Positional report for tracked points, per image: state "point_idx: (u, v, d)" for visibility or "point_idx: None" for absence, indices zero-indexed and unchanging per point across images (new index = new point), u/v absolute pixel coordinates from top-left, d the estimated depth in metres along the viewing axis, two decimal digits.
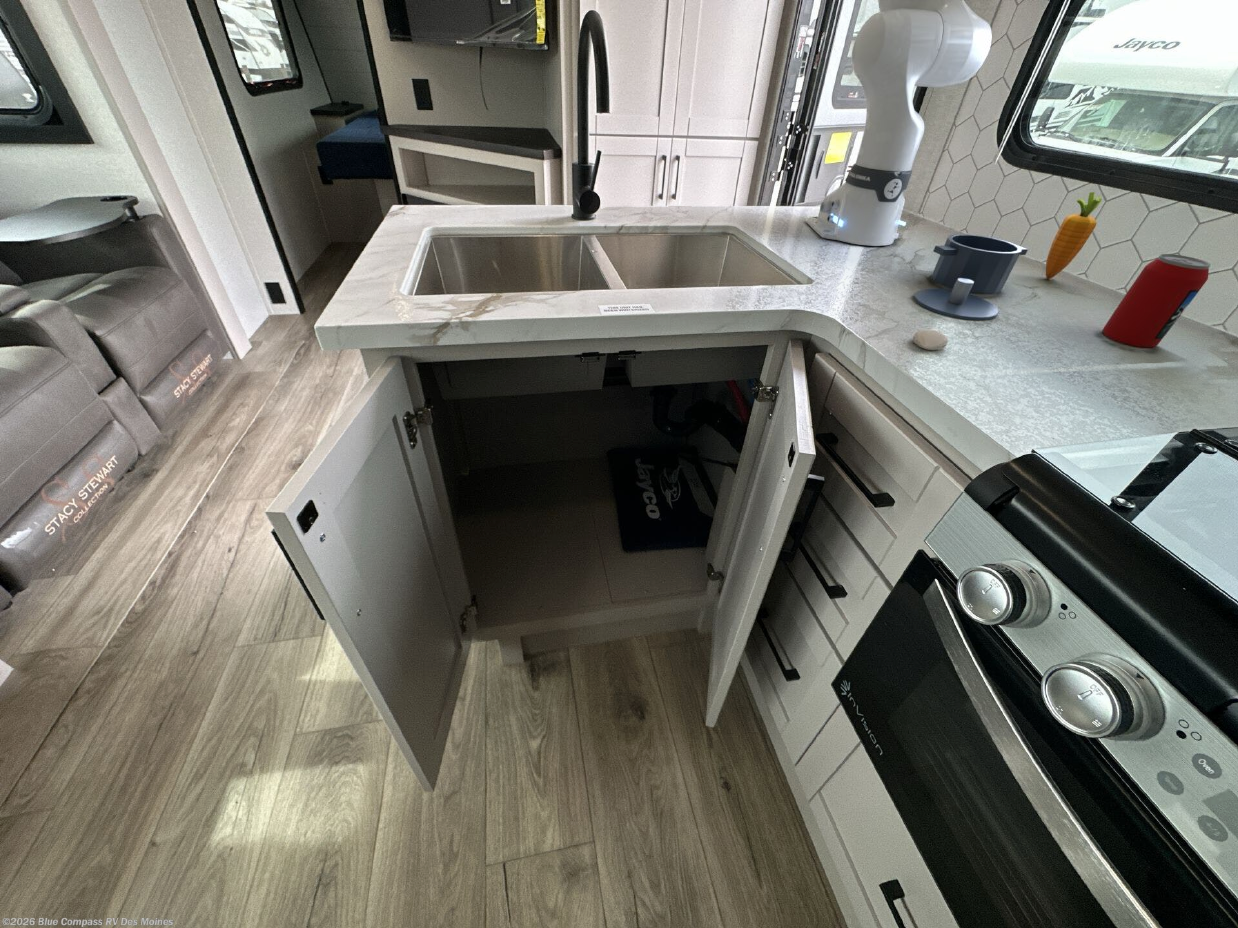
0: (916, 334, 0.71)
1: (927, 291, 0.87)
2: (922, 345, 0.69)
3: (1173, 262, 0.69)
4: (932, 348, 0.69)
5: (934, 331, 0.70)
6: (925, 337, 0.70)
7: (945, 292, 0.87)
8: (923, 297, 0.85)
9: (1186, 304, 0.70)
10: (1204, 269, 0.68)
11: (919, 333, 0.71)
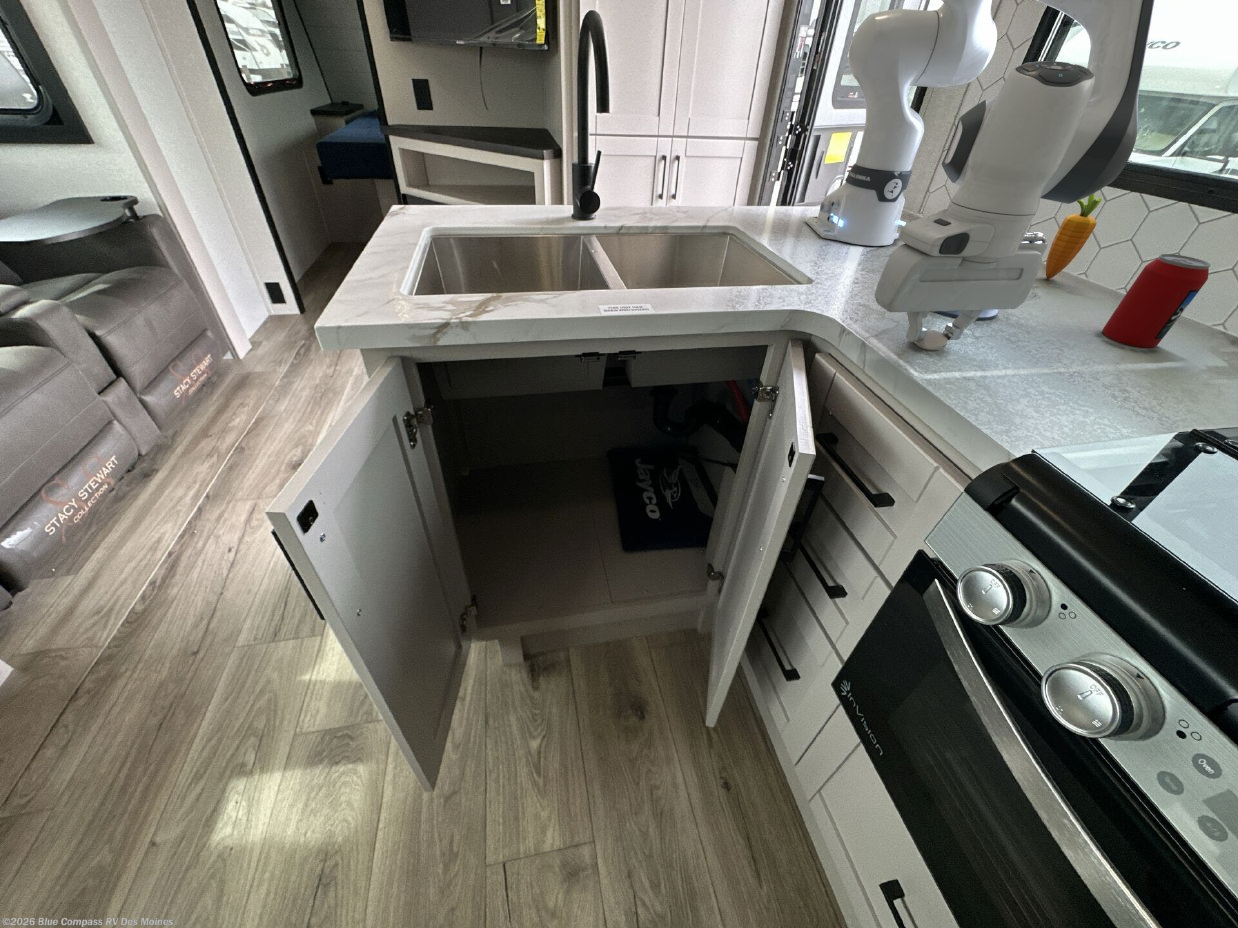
0: None
1: None
2: (922, 345, 0.69)
3: (1173, 262, 0.69)
4: (932, 348, 0.69)
5: (934, 331, 0.70)
6: (925, 337, 0.70)
7: None
8: None
9: (1186, 304, 0.70)
10: (1204, 269, 0.68)
11: None
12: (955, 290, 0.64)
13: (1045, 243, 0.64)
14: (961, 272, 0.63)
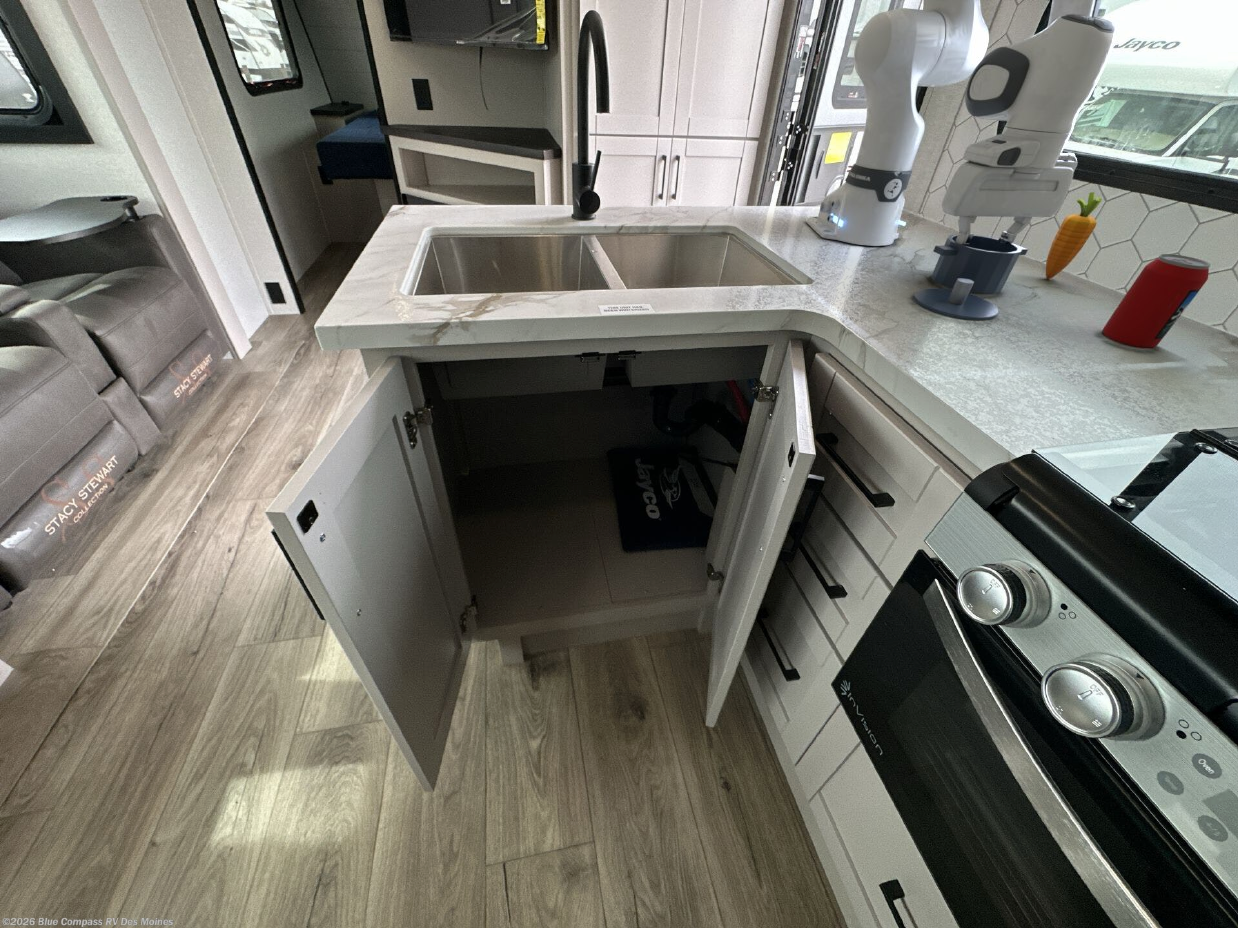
0: None
1: (927, 291, 0.87)
2: None
3: (1173, 262, 0.69)
4: None
5: None
6: None
7: (945, 292, 0.87)
8: (923, 297, 0.85)
9: (1186, 304, 0.70)
10: (1204, 269, 0.68)
11: None
12: (1005, 198, 0.83)
13: (1076, 162, 0.83)
14: (1011, 183, 0.82)
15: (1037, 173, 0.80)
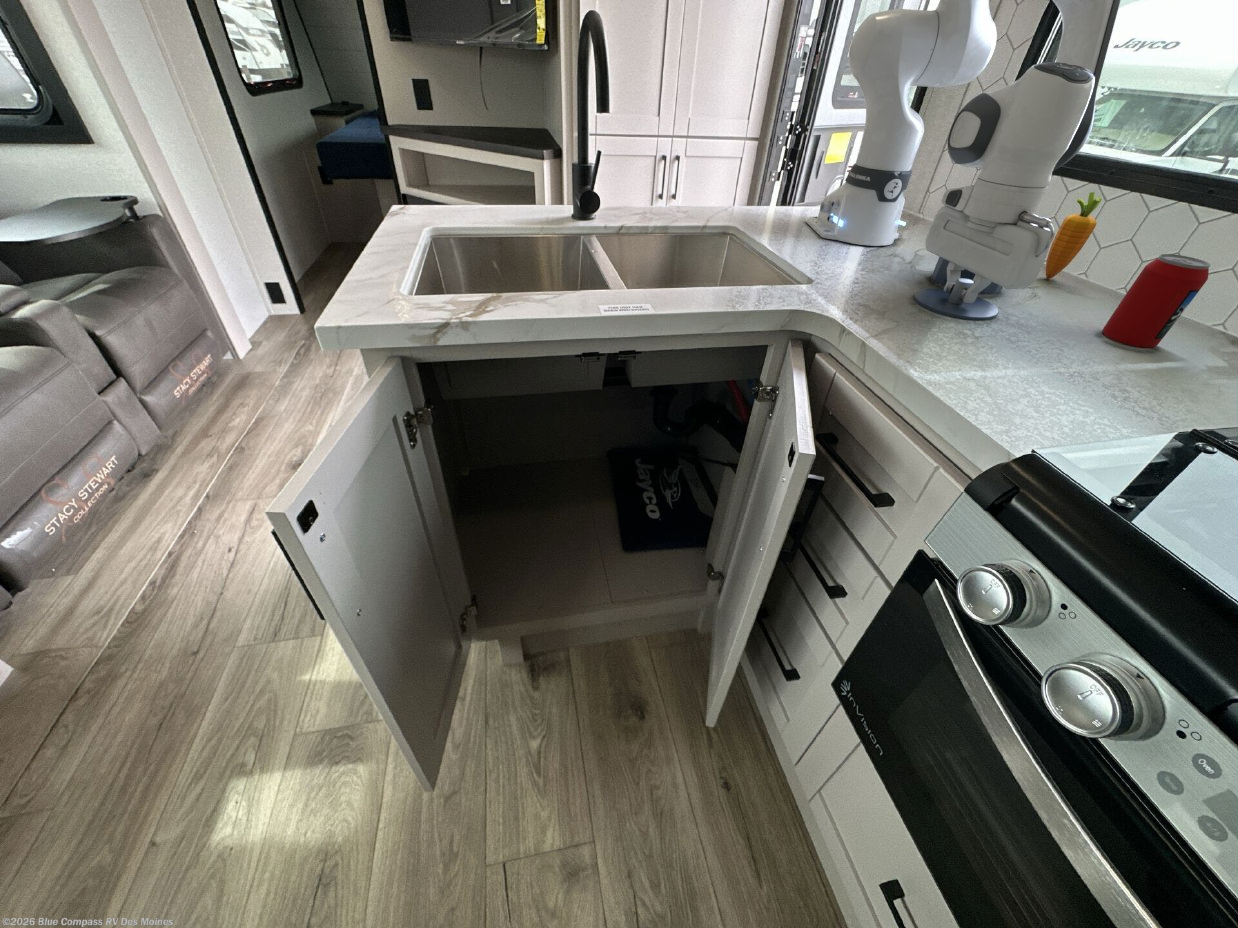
0: None
1: (927, 291, 0.87)
2: None
3: (1173, 262, 0.69)
4: None
5: None
6: None
7: (945, 292, 0.87)
8: (923, 297, 0.85)
9: (1186, 304, 0.70)
10: (1204, 269, 0.68)
11: None
12: (962, 246, 0.80)
13: (1049, 231, 0.68)
14: (971, 232, 0.78)
15: (979, 224, 0.75)
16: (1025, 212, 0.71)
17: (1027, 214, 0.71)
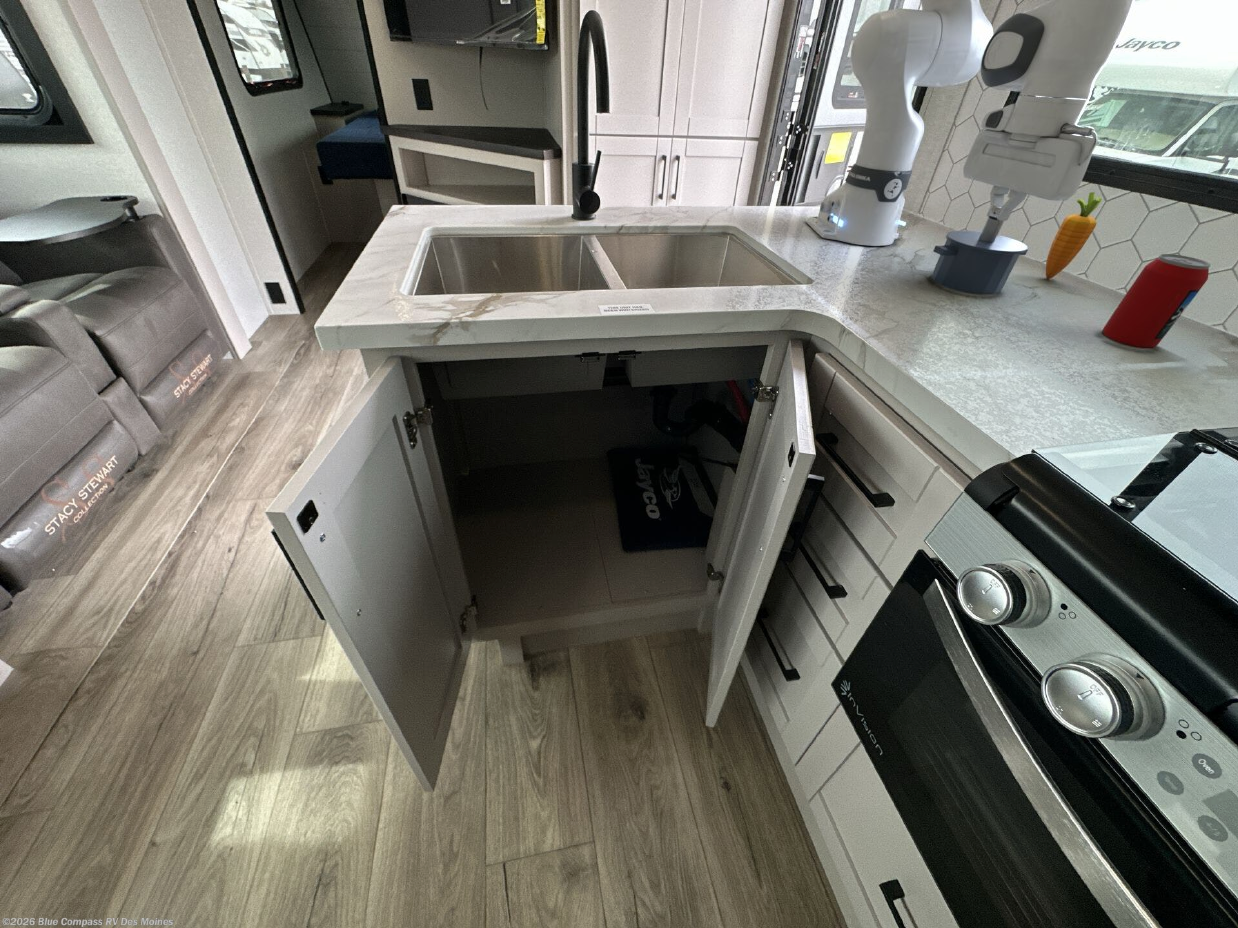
0: None
1: (958, 232, 0.92)
2: None
3: (1173, 262, 0.69)
4: None
5: None
6: None
7: (975, 233, 0.92)
8: (955, 236, 0.90)
9: (1186, 304, 0.70)
10: (1204, 269, 0.68)
11: None
12: (1003, 166, 0.83)
13: (1092, 138, 0.71)
14: (1011, 151, 0.81)
15: (1021, 140, 0.78)
16: (1067, 124, 0.74)
17: (1069, 125, 0.74)
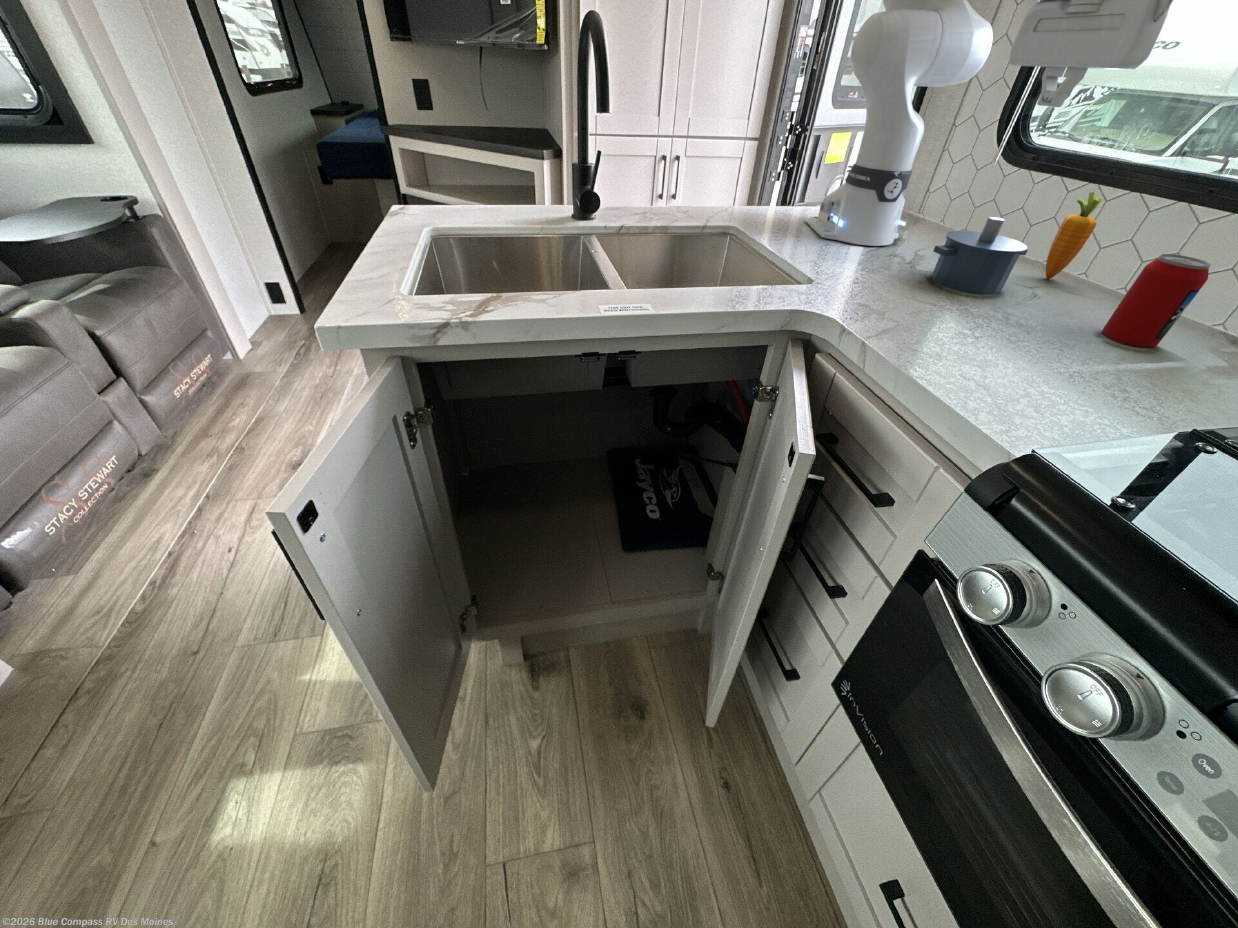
0: None
1: (958, 232, 0.92)
2: None
3: (1173, 262, 0.69)
4: None
5: None
6: None
7: (975, 233, 0.92)
8: (955, 236, 0.90)
9: (1186, 304, 0.70)
10: (1204, 269, 0.68)
11: None
12: (1058, 41, 0.73)
13: None
14: (1069, 21, 0.72)
15: (1082, 3, 0.69)
16: None
17: None
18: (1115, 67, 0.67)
